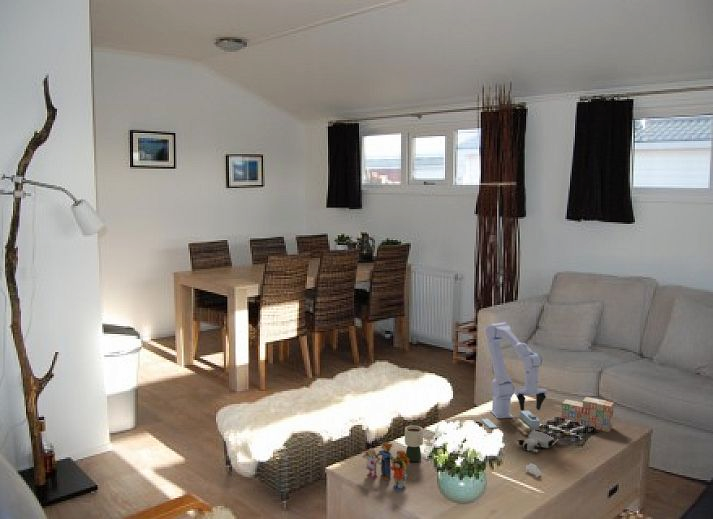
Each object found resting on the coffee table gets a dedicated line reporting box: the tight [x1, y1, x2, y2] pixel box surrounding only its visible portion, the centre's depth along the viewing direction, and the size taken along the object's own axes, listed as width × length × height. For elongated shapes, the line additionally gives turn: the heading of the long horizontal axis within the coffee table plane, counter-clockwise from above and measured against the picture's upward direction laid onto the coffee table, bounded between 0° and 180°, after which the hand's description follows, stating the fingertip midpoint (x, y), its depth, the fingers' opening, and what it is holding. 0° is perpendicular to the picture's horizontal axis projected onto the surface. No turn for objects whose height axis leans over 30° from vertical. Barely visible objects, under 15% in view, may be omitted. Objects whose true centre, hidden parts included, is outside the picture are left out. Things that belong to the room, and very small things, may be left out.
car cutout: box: [525, 462, 542, 478], centre depth 244 cm, size 15×7×4 cm, turn 42°
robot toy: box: [514, 430, 559, 453], centre depth 266 cm, size 12×4×15 cm
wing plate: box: [480, 418, 498, 430], centre depth 290 cm, size 10×4×1 cm, turn 13°
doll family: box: [361, 441, 411, 492], centre depth 235 cm, size 21×10×13 cm, turn 46°
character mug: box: [404, 425, 424, 462], centre depth 252 cm, size 11×7×13 cm, turn 34°
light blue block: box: [519, 410, 541, 431], centre depth 285 cm, size 12×4×6 cm, turn 9°
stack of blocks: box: [561, 396, 615, 433], centre depth 290 cm, size 21×6×12 cm, turn 57°
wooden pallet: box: [509, 416, 543, 437], centre depth 285 cm, size 16×12×3 cm
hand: (530, 409), depth 285 cm, fingers open, 7 cm apart
